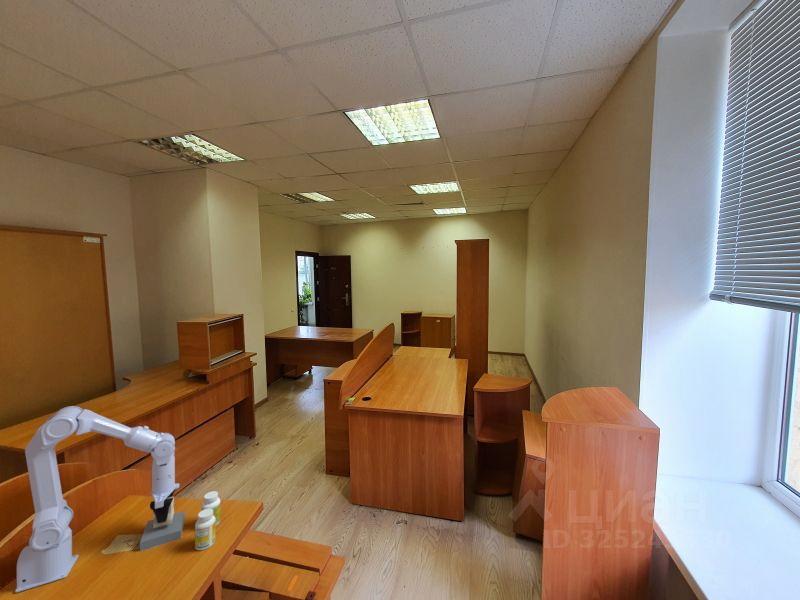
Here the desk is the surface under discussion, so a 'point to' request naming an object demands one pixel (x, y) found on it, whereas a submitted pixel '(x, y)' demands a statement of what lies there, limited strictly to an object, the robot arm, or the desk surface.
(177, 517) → the base block
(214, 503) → the supplement bottle
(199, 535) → the supplement bottle
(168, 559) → the desk surface
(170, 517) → the cream block
